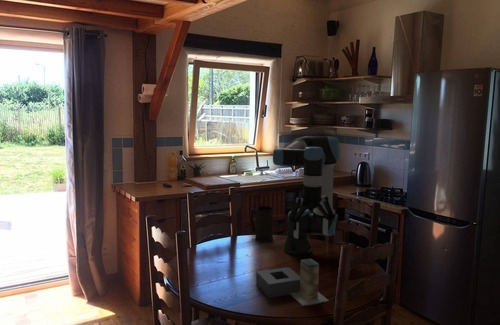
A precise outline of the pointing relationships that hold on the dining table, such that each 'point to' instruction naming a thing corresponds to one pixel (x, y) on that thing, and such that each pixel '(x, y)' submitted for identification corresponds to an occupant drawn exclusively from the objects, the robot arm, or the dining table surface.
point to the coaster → (308, 302)
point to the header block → (278, 282)
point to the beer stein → (262, 223)
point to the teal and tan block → (309, 279)
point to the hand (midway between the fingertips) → (310, 236)
